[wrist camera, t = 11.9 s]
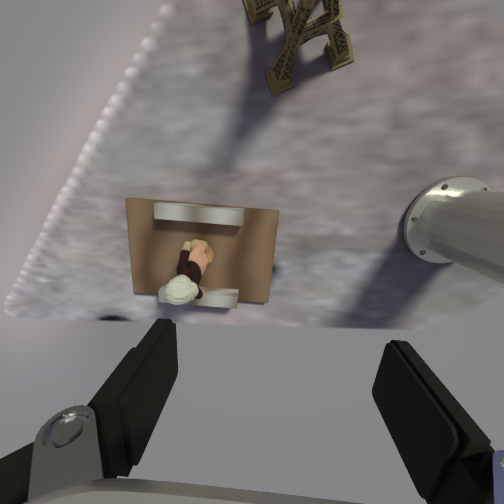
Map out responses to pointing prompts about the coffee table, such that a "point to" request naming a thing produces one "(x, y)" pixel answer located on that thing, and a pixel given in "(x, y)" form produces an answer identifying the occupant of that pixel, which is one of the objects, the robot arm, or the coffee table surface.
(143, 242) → the board
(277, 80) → the eiffel tower
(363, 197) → the coffee table surface
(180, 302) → the grandmother figurine
